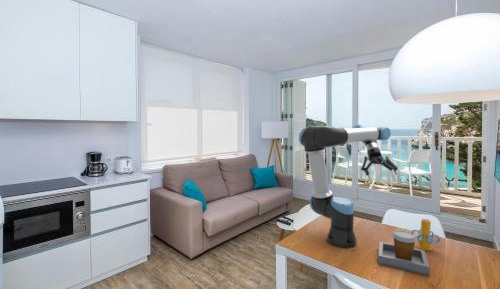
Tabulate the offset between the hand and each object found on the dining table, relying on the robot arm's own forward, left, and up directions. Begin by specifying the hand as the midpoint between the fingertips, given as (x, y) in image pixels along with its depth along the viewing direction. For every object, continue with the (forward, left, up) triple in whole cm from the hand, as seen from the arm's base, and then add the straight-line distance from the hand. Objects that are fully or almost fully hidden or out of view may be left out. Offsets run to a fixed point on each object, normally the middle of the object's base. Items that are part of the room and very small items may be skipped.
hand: (383, 179), depth 140 cm
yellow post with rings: (+20, -7, -33) cm, 39 cm away
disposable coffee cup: (+10, -26, -32) cm, 42 cm away
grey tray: (+9, -27, -33) cm, 43 cm away
